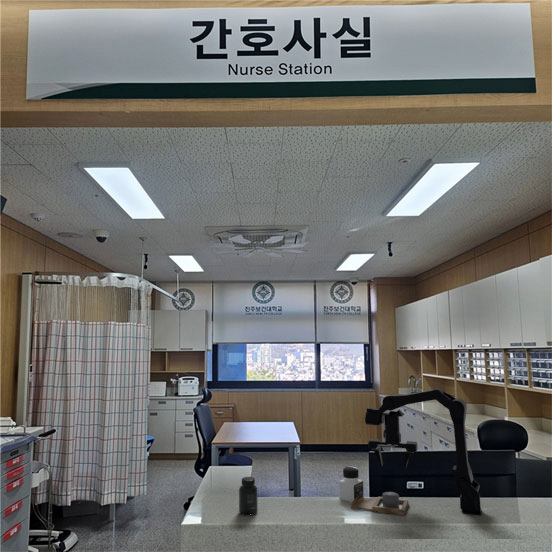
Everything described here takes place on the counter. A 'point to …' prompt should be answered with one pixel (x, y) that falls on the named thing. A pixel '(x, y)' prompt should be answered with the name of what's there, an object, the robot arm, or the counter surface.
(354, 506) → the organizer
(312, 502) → the counter surface
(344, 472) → the medicine bottle
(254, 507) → the supplement bottle
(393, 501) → the cap
